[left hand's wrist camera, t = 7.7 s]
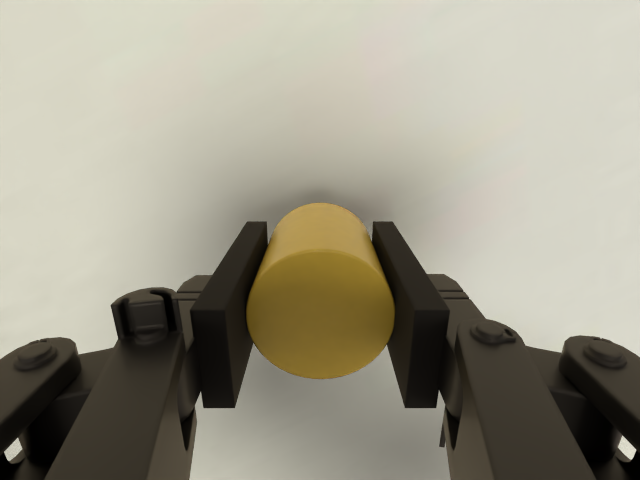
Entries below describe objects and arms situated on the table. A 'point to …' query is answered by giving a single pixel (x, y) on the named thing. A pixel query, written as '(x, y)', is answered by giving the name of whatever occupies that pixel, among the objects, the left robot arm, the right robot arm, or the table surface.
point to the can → (320, 295)
